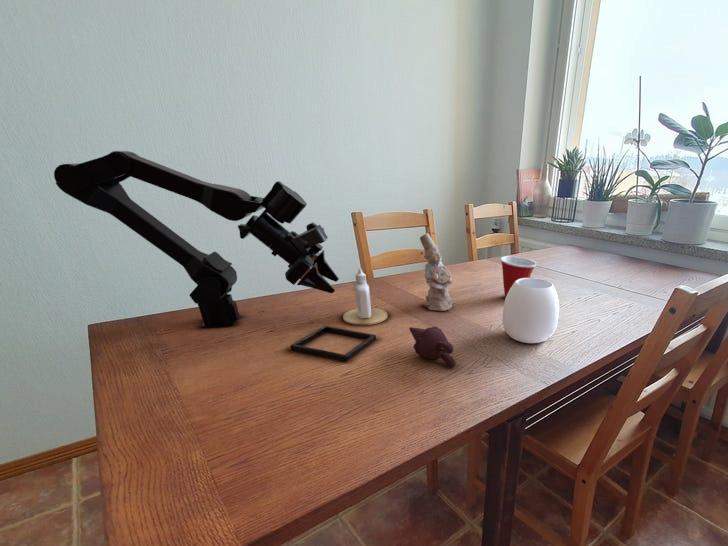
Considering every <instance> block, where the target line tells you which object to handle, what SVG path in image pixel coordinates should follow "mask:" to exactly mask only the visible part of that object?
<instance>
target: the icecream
mask: <svg viewBox="0 0 728 546" xmlns="http://www.w3.org/2000/svg"><path fill="white" fill-rule="evenodd" d="M408 330H409V332H410V333H411V335H412V337H413V340H414V341H415V342H414V344H413V349H414V351H415V353H416V354H418V356H420V357H421V358H422V357H423V358H425V359H427V360H438V359H440V358H441V361H443V362H444V364H446V365H447V366H448V367H450V368H454V367H456V365H457V363H456V360H455V358H454V357H453V356H451V354H452V353H453V352H454V345H453V344H452V343H451V342H449V341H448V340H449V339H448V338H447V337H446V335H445V333H444V332H443V331H442V329H441V328H439V327H438V326H432V327H431V326H430V327H427V328H419V327H411V326H410V327H409V329H408Z"/></svg>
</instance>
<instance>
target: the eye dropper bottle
mask: <svg viewBox="0 0 728 546" xmlns="http://www.w3.org/2000/svg"><path fill="white" fill-rule="evenodd" d="M354 275H355V285H354V294H355V304H356V309H357V313H358V316H359V318H361V319H364V318H370V317H371V308H372V306H371V305H372V304H371V293H370V286H369V284H368V283H367V274H366V273H364V272H363V270H362V268H358V271H357V272H356V273H355V274H354Z"/></svg>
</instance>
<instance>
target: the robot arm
mask: <svg viewBox="0 0 728 546" xmlns="http://www.w3.org/2000/svg"><path fill="white" fill-rule="evenodd" d="M53 178H54V180H55V185H56V186H57V187H58V189H60V190H61V191H62V192H63V193H64V194H66V195H68V196H69V197H71V198H73V199H75V200H76V201H79V202H81V203H82V204H84V205H86V206H88V207H91V208H93V209H96V210H99V211H102V212H104V213H107V214H109V215H111V216H112V217H113V218H115V219H116V220H117V221H118V222H120V223H122V224H123V225H125V226H126V227H128V228H129V229H130V230H132V231H133V232H135V233H136V234H137V235H139V236H140V237H142V238H143V239H144V240H145V241H147V242H148V243H150V244H151V245H153V247H155V248H157V249H158V250H160V251H161V252H162V253H163V254H165V255H166V256H168V257H169V258H171V259H172V260H173V261H174V262H176V263H177V264H179V265H180V266H182V267H183V268H184V270H185V271H186V273H187V275H188V276H189V278H190V280H191V281H193V282H194V283H195V285H196V286H195V288H194V289H193V290H192V291H191V292H190V294H189V297H190V299H191V300H192V301H193V302H194V304H196V305H197V307H198V309H199V312H200V316H201V319H202V324H201V327H202V328H218V327H231V326H232V327H233V326H235V325H236V323H237V321H238V320H239V318H240V315H241V314H240V313H239V309H238V308H239V307H238V305H237V302H236V300H233V297H232V296H233V295H232V293H230V292H232V290H233V286H234V285H235V284H236V283H237V281H238V275H237V274H238V273H237V270H236V269H235V268H234V267H233V266H232V265H233V263H232V262H230V261H228V260H226V259H225V258H224V257H222V255H220V254H219V253H218V252H217V251H215V250H214V251H212V252H211V253H205V252H202V251H200V250H199V249H197V248H196V247H195V246H193V245H192V244H191V243H190V242H188V241H186V239H184V238H183V237H181V236H180V235H179V234H178V233H176V232H175V231H174V230H172V229H171V228H169V226H167V225H166V224H164V223H163V222H161V221H160V220H159V219H158V218H156V217H155V216H154V215H152V214H151V213H150V212H148V211H147V210H146V209H145V208H143V207H142V206H141V205H139V204H138V203H136V202H135V201H134V200H132V199H131V197H130V196H129V194H128V193H127V192H126V190H125V188H124V187H123V185H122V184H121V182H124V181H125V180H128V179H129V178H133V179H136V180H139V181H142V182H143V183H147V184H149V185H153V186H155V187H157V188H161V189H163V190H165V191H168V192H171V193H174V194H176V195H179V196H182V197H185V198H188V199H190V200H193V201H195V202H197V203H199V204H201V205H202V206H204V207H205V208H206V209H208V210H209V211H211V212H212V213H214V214H216V215H219V216H220V217H222V218H223V219H226V220H228V221H232V222H238V221H240V220H241V221H242V220H244V219H245V218H248V217H249V216H251V217H250V218H249V219H248V220H247V221H246V223H240V224H238V225H237V228H238V230H239V237H240V239H241V240H244V239H246V238H247V237H249V235H252V236H253V237H254V238H256V239H257V240H258V241H259V242H261V244H263V245H264V246H265V247H267V248H268V249H269V250H270V251H271V253H270V254H271V255H272V256H274V257H276V256H278V257H279V258H281V259H282V260H283V261H284V262H286V263H287V264H288V265H287V267H288V269H287V270H286V272H285V273H284V276H285V280H286V281H288V282H289V283H290V284H292V285H293V286H294V285H297V286H303V287H307V288H311V289H315V290H319V291H322V292H325V293H328V294H333V293H334V292H335V291H336V289H335V288H334V287H333V285H332V284H331V283H329V281H333V282H338V281H339V279H340V278H339V277H338V276H337V275H338V274H337V273H335V271H334V270H333V269H332V267H331V266H330V264H329V263H328V262H327V260H326V259H325V257H326V256H325V250H324V249H323V248H324V246H323V245H321V244H323V243H324V242H326V241H327V239H328V238H329V237H328V235H327V233H326V231H325V228H324V227H322V225H321V224H318V225H317V224H316V223H315V222H313V221H312V222H310V223H308V224H307V225H306V226H305V227H306V231H303V232H302V233H299V234H298V233H297V232H296V231H293V230H291V231H289V230H288V229H286V228H285V227H284V226H283V225H284V224H285V223H286V224H292V223H293V221H295V220H296V218H297V217H298V216H299V215H300V214H301V213H302V211H303V210H304V209H305V208H306V207H307V205H308V204H307V202H306V201H305V199H304V198H303V197H302V196H301V195H300V194H299V193H297V192H296V190H293V189H291V188H290V187H288V186H287V185H285V184H284V183H283V182H281V181H280V180H277V181H275V182H274V184H273V185H272V187H271V189H269V192H267V194H266V195H265V196H264V197H262V196H254V195H250V194H249V193H248V192H247V191H246V190H244V189H242V188H241V189H240V188H237V187H232V186H228V185H223V184H217V183H212V182H207V181H204V180H201V179H199V178H196V177H194V176H191V175H188V174H186V173H183V172H180V171H178V170H175V169H173V168H170V167H167V166H165V165H164V164H163V165H162V164H160V163H157V162H155V161H152V160H150V159H147V158H145V157H142V156H140V155H138V154H137V153H135V152H134V151H129V150H115V151H113V150H112V151H111V152H109V153H108V154H106V155H103V156H101V157H98V158H94V159H91V160H87V161H84V162H79V163H77V162H76V163H63V164H60V165H57V167H56V168H55V169H54V171H53ZM262 209H263V211H262V213H260V214H259V215H252V214H255V213H257V212H259V211H260V210H262ZM326 279H328V280H329V281H328V280H326Z"/></svg>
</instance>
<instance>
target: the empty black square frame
mask: <svg viewBox="0 0 728 546" xmlns="http://www.w3.org/2000/svg"><path fill="white" fill-rule="evenodd" d="M325 333H331V334H337V335H342V336H346V337H347V336H348V337H351V338H352V337H353V338H356V339H357V338H358V339H362V340H364V341H362V342H361V343H359V344H358V345H356V346H355V347H354V348H352V349H351V350H350V351H348V352H347V353H345V354H344V353H343V354H342V353H339V352H333V351H329V350H323V349H318V348H315V347H308V346H305V345H306V344H308V343H310V342H311V341H313V340H315V339H316V338H319V337H320V336H321V335H323V334H325ZM376 340H377V334H372V333H368V332H361V331H356V330H352V329H346V328H341V327H336V326H330V325H324V326H322V327H319V328H318V329H317V330H315V331H313V332H311V333H309V334H308V335H305V336H304V337H303V338H301V339H299V340H297V341H296V342H294V343H292V344H290V345H289V346H290V350H291V351H293V352H298V353H303V354H309V355H313V356H318V357H322V358H326V359H332V360H337V361H341V362H344V363H345V362H346V363H347V362H348V361H350V360H351V359H352V358H355V356H357V355H358V354H359V353H361V352H362V351H363V350H365V349H366V348H367V347H369V346H370V345H371V344H372V343H374V342H375V341H376Z"/></svg>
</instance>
